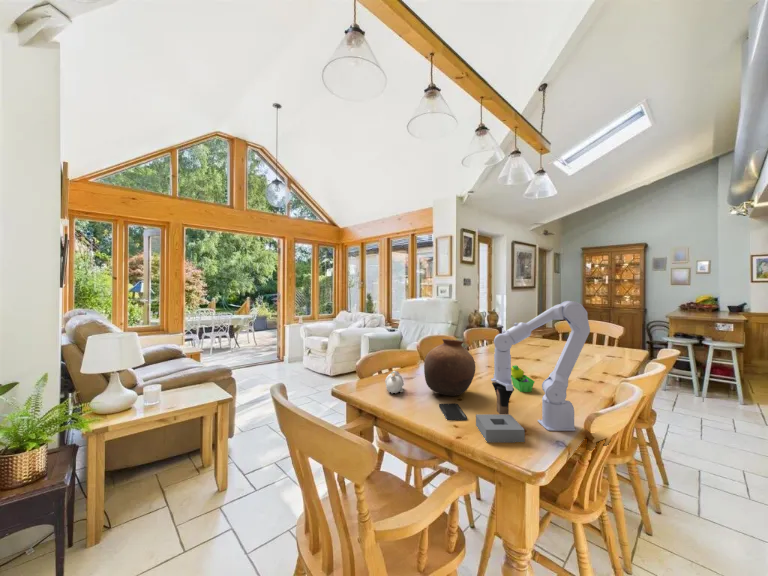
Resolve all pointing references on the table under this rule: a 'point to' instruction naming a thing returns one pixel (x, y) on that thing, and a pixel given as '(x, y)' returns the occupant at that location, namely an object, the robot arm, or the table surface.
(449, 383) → the pottery
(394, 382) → the white rounded piece
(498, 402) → the peg
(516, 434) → the socket block
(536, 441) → the table surface
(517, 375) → the fruit basket
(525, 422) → the table surface
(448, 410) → the phone
